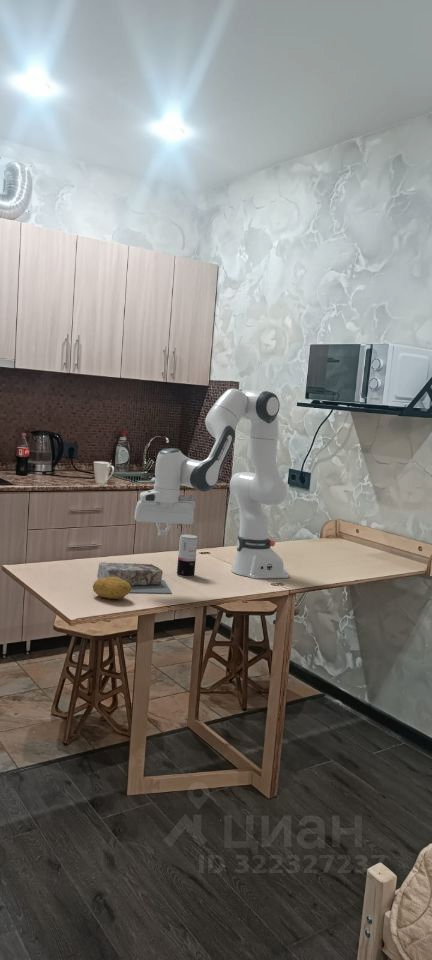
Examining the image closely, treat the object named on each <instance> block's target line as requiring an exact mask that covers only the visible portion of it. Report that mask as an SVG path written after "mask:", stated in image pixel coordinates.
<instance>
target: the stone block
mask: <svg viewBox="0 0 432 960" xmlns="http://www.w3.org/2000/svg"><path fill="white" fill-rule="evenodd" d="M163 574H164V572H163V570H162V569H161V568H159V567H157V566H156V565H154V564H152V563H149V564H148V563H134V562H133V563H128V562H127V563H126V562H124V563H123V562H122V563H121V562H118V563H117V562H106V561H105V562H99V565H98V569H97V580H98V579H100V578H105V577H118V578H121V579H122V580H124V581H126V582H128V583H129V584H130V586H135V585H152V584H161V581H162V580H163Z"/></svg>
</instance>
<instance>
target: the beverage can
mask: <svg viewBox="0 0 432 960" xmlns="http://www.w3.org/2000/svg"><path fill="white" fill-rule="evenodd" d="M197 546H198V536H197V535H195V534H191V533H190V534H188V533H187V534H186V533H185V534H180V537H179V544H178V554H177V555H178V558H177V566H176V567H177V568H176V574H177V576H179V577H181V578H192V577H194V576H195V571H196V560H197V549H198V547H197Z"/></svg>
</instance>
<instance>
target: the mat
mask: <svg viewBox="0 0 432 960" xmlns="http://www.w3.org/2000/svg"><path fill="white" fill-rule="evenodd" d="M129 594H147V595H148V594H153V595H154V594H157V595H158V594H159V595H163V594H164V595H172V594H173V592H172V590H171V589H170V587H169V585H168V583H167V582H166V580H165V579H162V581H161V584H152V585H135V586H131V591H130V592H129Z"/></svg>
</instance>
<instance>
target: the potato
mask: <svg viewBox="0 0 432 960" xmlns="http://www.w3.org/2000/svg"><path fill="white" fill-rule="evenodd" d="M92 589H93V590H92V591H93V592H94V593H95V594H96V595H97V596H99V597H101V598H106V599H109V600H117V599H121V598H125V597H126V596H127V595H128V594H129V595H130V593H129V592H130V591H131V586H130V584H129V583H128V582H126V581H124V580H122V579H121V578H118V577H105V578H100V579H98V578H97V580H96V581H94V582H93V585H92Z"/></svg>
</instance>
